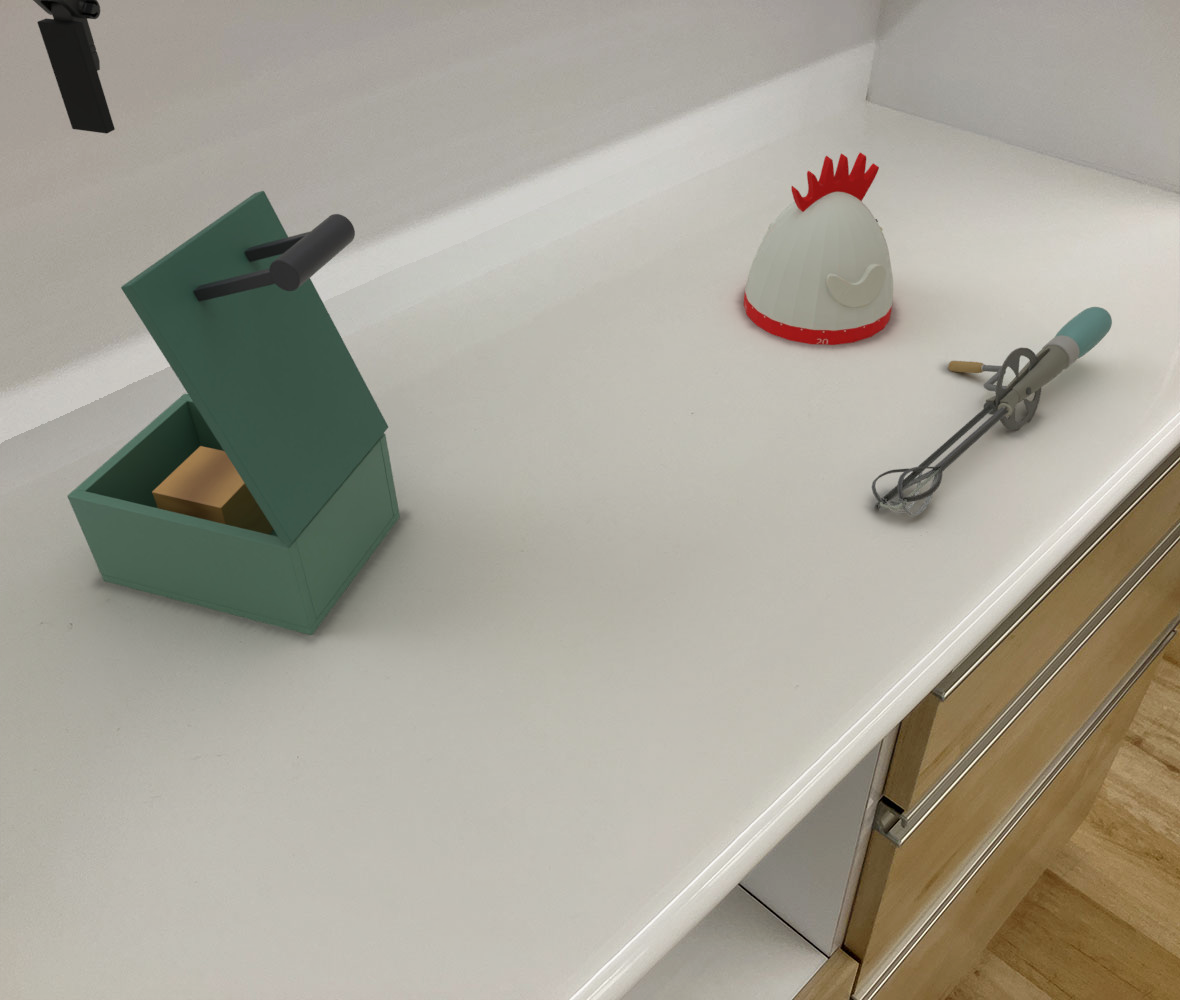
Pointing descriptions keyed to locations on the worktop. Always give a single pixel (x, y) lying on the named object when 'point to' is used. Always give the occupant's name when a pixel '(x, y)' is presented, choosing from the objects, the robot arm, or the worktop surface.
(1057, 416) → the worktop surface
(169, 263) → the lunchbox lid
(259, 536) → the lunchbox
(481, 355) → the worktop surface
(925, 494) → the whisk
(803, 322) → the kitchen timer
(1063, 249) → the worktop surface
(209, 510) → the block
